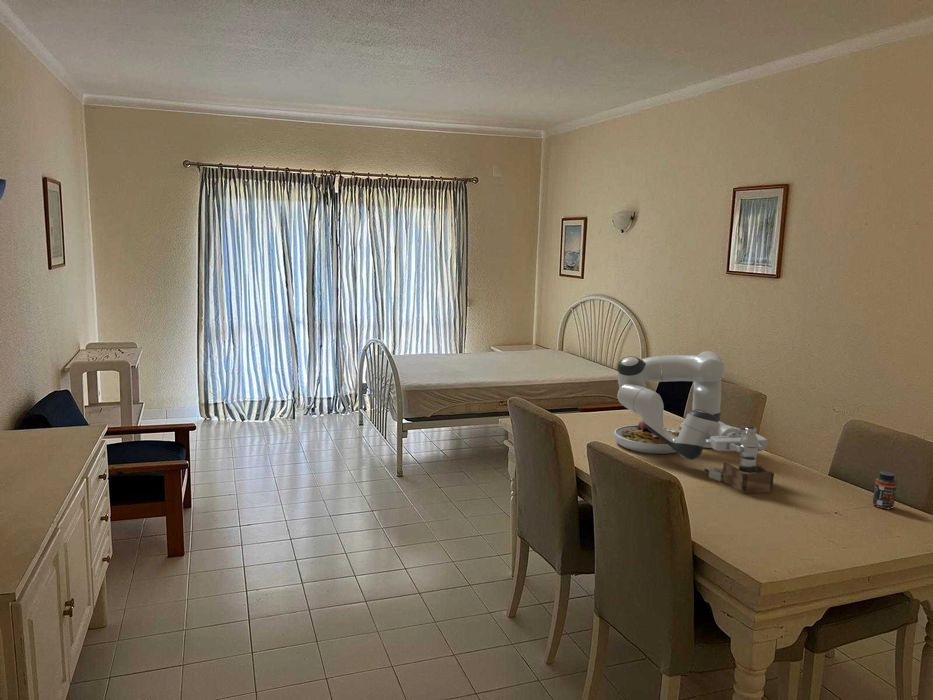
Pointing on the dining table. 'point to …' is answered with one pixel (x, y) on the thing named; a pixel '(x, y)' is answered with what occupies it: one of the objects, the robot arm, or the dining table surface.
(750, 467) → the plastic bottle
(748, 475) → the end cradle
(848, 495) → the dining table surface
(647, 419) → the robot arm
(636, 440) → the bowl
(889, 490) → the supplement bottle
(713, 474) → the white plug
